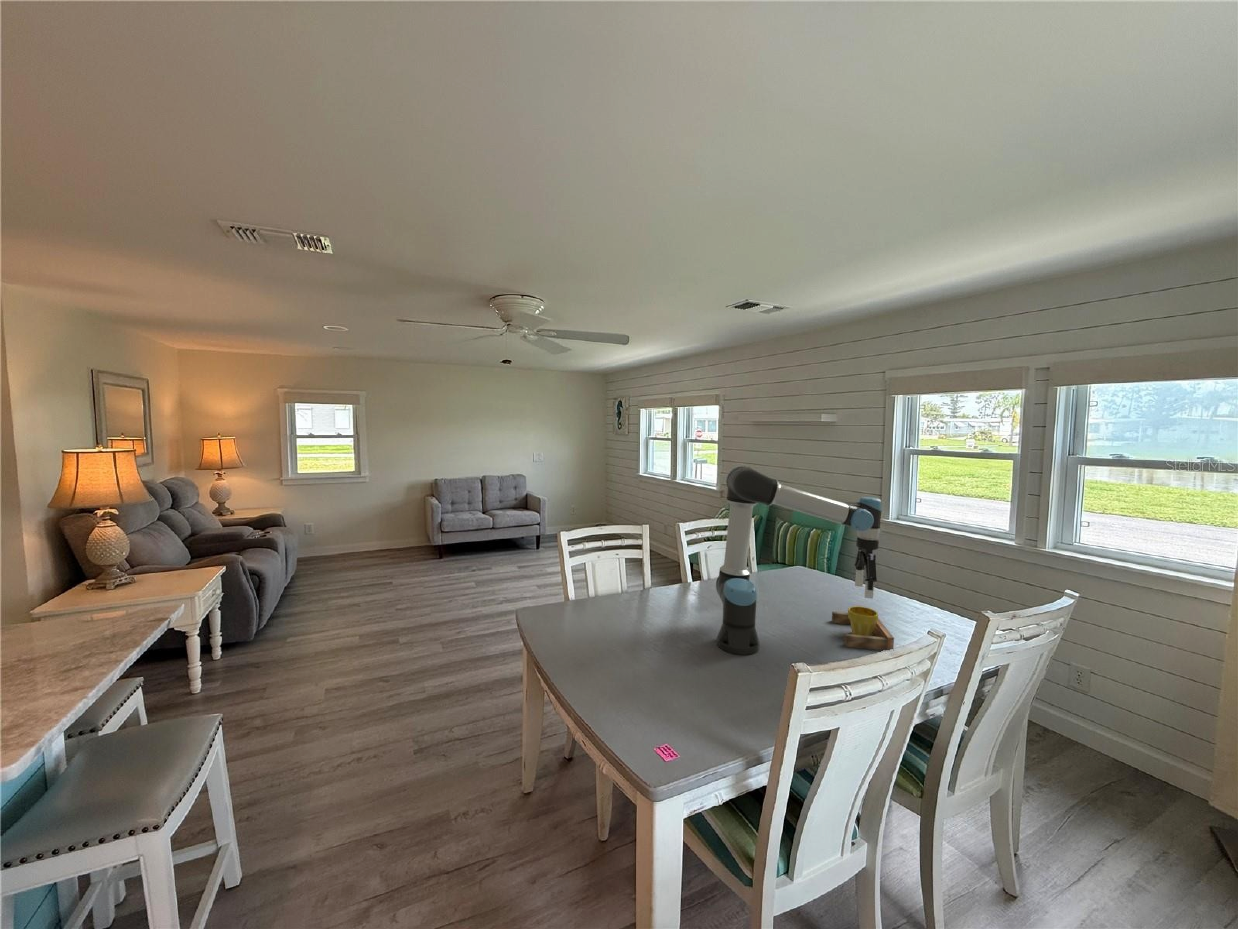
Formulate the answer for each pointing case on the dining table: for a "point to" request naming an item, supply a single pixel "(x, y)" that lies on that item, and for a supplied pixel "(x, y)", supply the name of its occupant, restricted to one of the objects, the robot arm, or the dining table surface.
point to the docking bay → (869, 642)
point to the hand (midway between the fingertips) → (863, 592)
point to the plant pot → (862, 620)
